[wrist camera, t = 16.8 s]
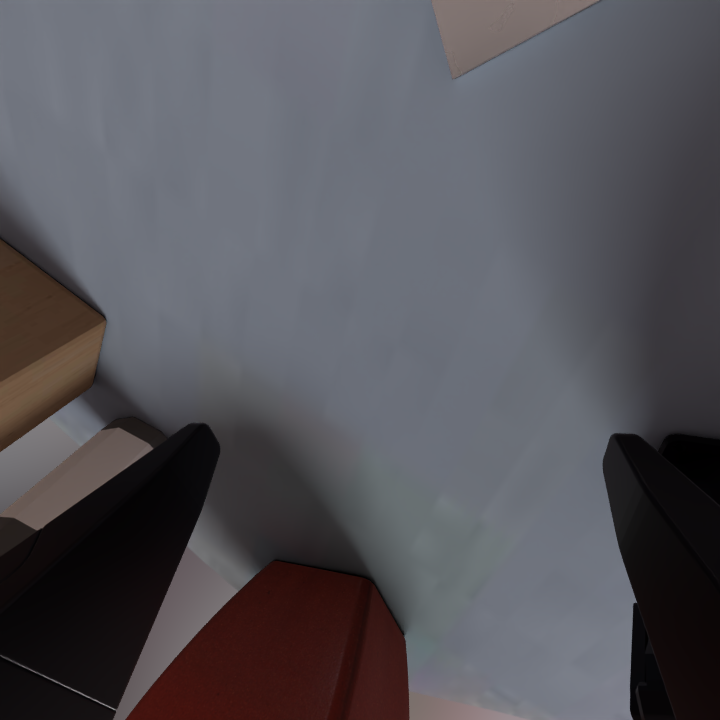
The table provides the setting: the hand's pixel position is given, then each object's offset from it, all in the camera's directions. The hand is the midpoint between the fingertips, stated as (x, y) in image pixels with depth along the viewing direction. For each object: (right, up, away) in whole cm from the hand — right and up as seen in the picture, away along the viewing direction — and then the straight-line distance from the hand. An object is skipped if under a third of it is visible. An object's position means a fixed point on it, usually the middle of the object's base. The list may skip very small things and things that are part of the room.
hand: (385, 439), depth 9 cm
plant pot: (-3, -25, +35) cm, 43 cm away
